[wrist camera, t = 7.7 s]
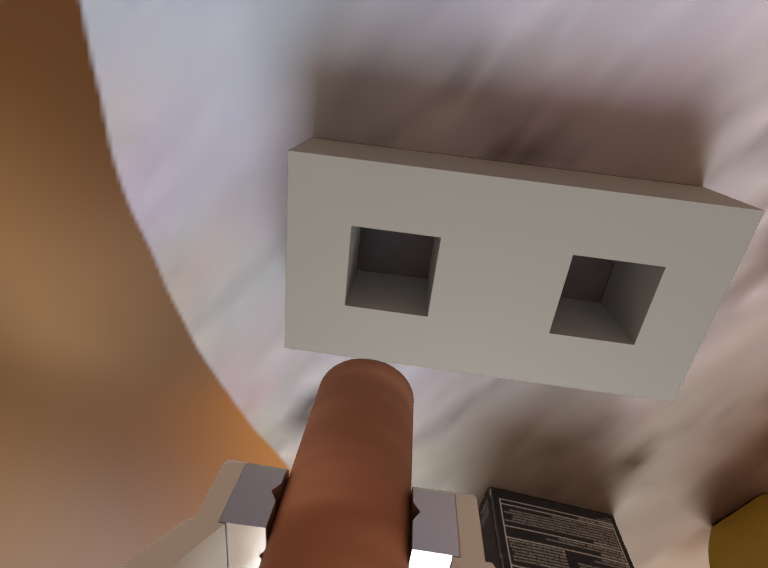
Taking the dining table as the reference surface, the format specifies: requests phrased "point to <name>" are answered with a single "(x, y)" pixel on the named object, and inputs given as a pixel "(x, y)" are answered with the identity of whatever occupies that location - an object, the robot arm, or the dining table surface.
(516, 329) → the hole block
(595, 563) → the small box
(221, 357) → the dining table surface
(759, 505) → the flower pot
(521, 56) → the dining table surface
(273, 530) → the peg
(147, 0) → the dining table surface
